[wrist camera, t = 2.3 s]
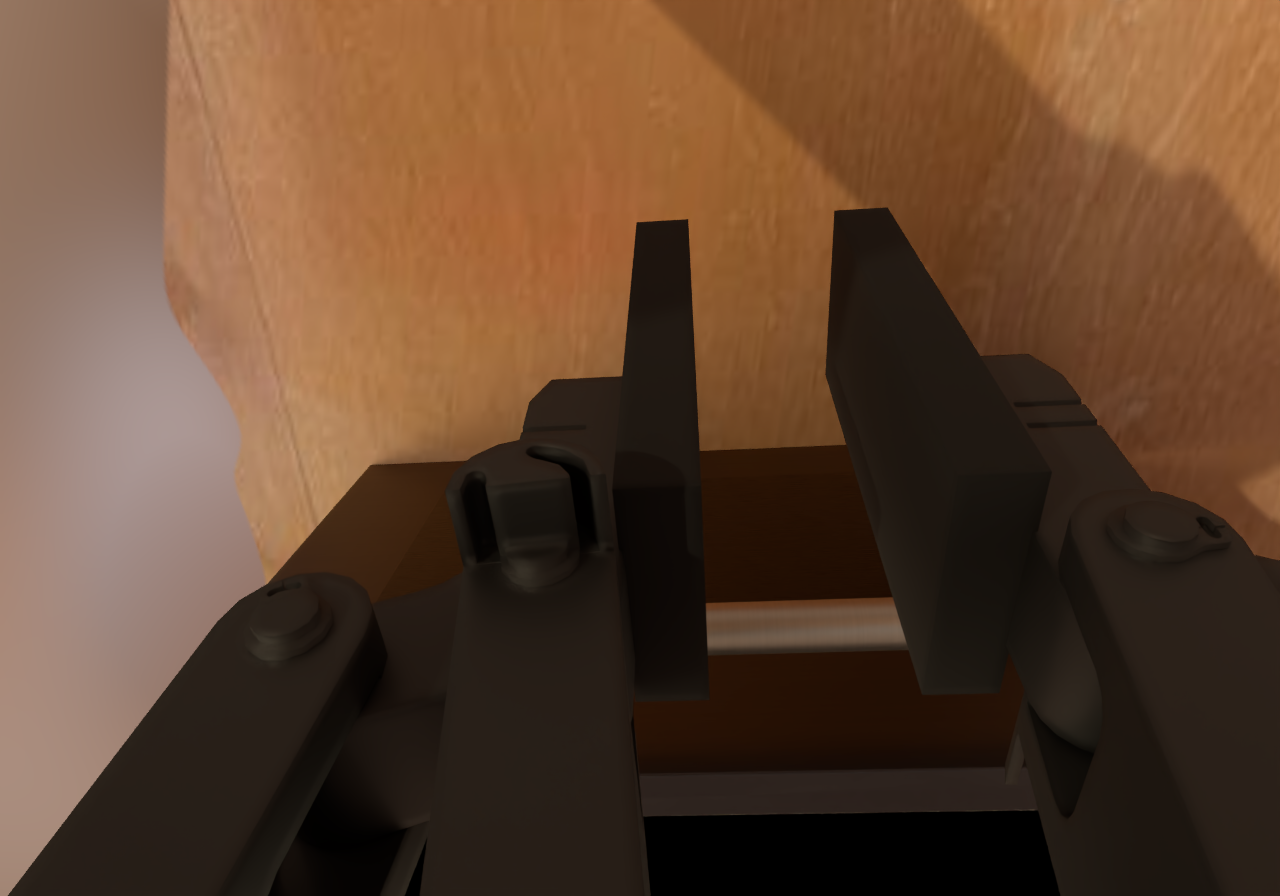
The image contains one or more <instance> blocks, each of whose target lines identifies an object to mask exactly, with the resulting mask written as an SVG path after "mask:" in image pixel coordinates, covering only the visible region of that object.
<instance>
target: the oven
mask: <svg viewBox="0 0 1280 896" xmlns="http://www.w3.org/2000/svg"><path fill="white" fill-rule="evenodd" d="M643 819H644V830H645V841H646V852H647V863H648V873H649V884H650V895H651V896H1060V892H1059V888H1058V884H1057V880H1056V877H1055V873H1054V869H1053V865H1052V861H1051V857H1050V854H1049V850H1048V846H1047V842H1046V838H1045V835H1044V831H1043V827H1042V823H1041V819H1040V816H1039V812H1038V810H1019V811H955V812H890V813H826V814H761V815H697V816H643ZM426 844H427V839H426V842H425V844H424V847H423V849H422V852H421V854H420V857H419V860H418V862H417V865H416V867H415V870H414V873H413V875H412V878H411V880H410V883H409V886H408V888H407V891H406V893H405V896H420V889H421V881H422V874H423V866H424V859H425V851H426Z"/></svg>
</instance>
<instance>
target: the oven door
mask: <svg viewBox="0 0 1280 896" xmlns="http://www.w3.org/2000/svg"><path fill="white" fill-rule="evenodd" d="M466 462H467V461H458V462H434V463H411V464H387V465H370V466H369V467H368V469H367V470H366V471H365V472H364V473H363V474H362V476H361V477H360V478H359V479H358V480H357V481H356V482H355V484H354V485H353V486H352V487H351V488H350V489H349V491H348V492H347V493H346V494H345V495H344V496H343V497H342V499H341V500H340V501H339V502H338V503H337V504H336V506H335V507H334V508H333V509H332V510H331V511H330V512H329V514H328V515H327V516H326V517H325V518H324V519H323V521H322V522H321V523H320V524H319V525H318V526H317V527H316V529H315V530H314V531H313V532H312V533H311V534H310V536H309V537H308V538H307V539H306V540H305V541H304V542H303V544H302V545H301V546H300V547H299V548H298V549H297V551H296V552H295V553H294V554H293V555H292V556H291V557H290V559H289V560H288V561H287V562H286V563H285V564H284V566H283V567H282V568H281V569H280V570H279V571H278V572H277V574H276V575H275V576H274V577H273V578H272V579H271V581H270V582H269V583H272V582H275V581H278V580H281V579H284V578H288V577H291V576H294V575H297V574H307V573H320V572H329V573H334V574H338V575H342V576H347V577H351V578H352V579H354V580H355V581H356V582H357V583H359V584H360V585H361V586H362V587H364V588H365V589H366V590H367V592H368V595H369V597H370V600H371V603H376V602H380V601H384V600H387V599H391V598H395V597H399V596H402V595H406V594H410V593H414V592H417V591H421V590H424V589H427V588H429V587H432V586H435V585H438V584H441V583H443V582H445V581H447V580H449V579H451V578H453V577H454V576H456V575H458V574H460V573H462V572H463V563H462V559H461V555H460V551H459V547H458V543H457V538H456V534H455V530H454V526H453V522H452V518H451V514H450V510H449V506H448V502H447V498H446V494H445V489H446V487H447V485H448V483H449V481H450V479H451V477H452V475H453V473H454V472H455V471H456V470H457V469H458V468H460V467H461V466H462V465H463V464H464V463H466ZM700 471H701V493H702V518H703V544H704V570H705V595H706V621H707V646H708V672H709V697H710V700H691V701H650V702H636V701H635V692H634V699H633V717H634V726H635V734H636V743H637V754H638V765H639V776H640V786H641V797H642V808H643V816H697V815H761V814H826V813H890V812H955V811H1019V810H1038V808H1037V804H1036V800H1035V796H1034V793H1033V789H1032V785H1031V781H1030V777H1029V774H1028V770H1027V766H1026V762H1025V758H1024V762H1023V765H1022V769H1021V772H1020V776H1019V779H1018V783H1017V785H1010V784H1005V762H1006V759H1007V755H1008V751H1009V747H1010V743H1011V740H1012V736H1013V732H1014V728H1015V724H1016V720H1017V717H1018V713H1019V709H1020V705H1021V701H1022V698H1023V694H1024V690H1025V689H1024V687H1023V685H1022V682H1021V680H1020V678H1019V675H1018V673H1017V671H1016V668H1015V666H1014V664H1013V661H1012V659H1011V657H1010V654H1008V659H1007V663H1006V667H1005V671H1004V675H1003V680H1002V684H1001V688H1000V692H999V693H984V694H942V695H922V693H921V690H920V686H919V683H918V680H917V676H916V673H915V670H914V666H913V663H912V660H911V656H910V653H909V650H908V646H907V643H906V640H905V637H904V633H903V630H902V627H901V623H900V620H899V617H898V613H897V610H896V607H895V603H894V600H893V597H892V593H891V590H890V587H889V583H888V580H887V577H886V574H885V570H884V567H883V564H882V560H881V557H880V554H879V550H878V547H877V544H876V540H875V537H874V534H873V530H872V527H871V524H870V520H869V517H868V514H867V510H866V507H865V504H864V501H863V497H862V494H861V491H860V487H859V484H858V481H857V477H856V474H855V471H854V467H853V464H852V461H851V457H850V454H849V451H848V447H847V445H838V446H814V447H790V448H767V449H743V450H719V451H700ZM269 583H268V584H269Z"/></svg>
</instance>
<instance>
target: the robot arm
mask: <svg viewBox="0 0 1280 896" xmlns="http://www.w3.org/2000/svg"><path fill="white" fill-rule="evenodd" d="M826 378H827V381H828V384H829V388H830V391H831V394H832V398H833V401H834V404H835V408H836V411H837V414H838V418H839V421H840V424H841V428H842V431H843V434H844V437H845V441H846V444H847V447H848V451H849V454H850V457H851V461H852V464H853V467H854V471H855V474H856V477H857V481H858V484H859V487H860V491H861V494H862V497H863V501H864V504H865V507H866V510H867V514H868V517H869V520H870V524H871V527H872V530H873V534H874V537H875V540H876V544H877V547H878V550H879V554H880V557H881V560H882V564H883V567H884V570H885V574H886V577H887V580H888V583H889V587H890V590H891V593H892V597H893V600H894V603H895V607H896V610H897V613H898V617H899V620H900V623H901V627H902V630H903V633H904V637H905V640H906V643H907V646H908V650H909V653H910V656H911V660H912V663H913V666H914V670H915V673H916V676H917V680H918V683H919V686H920V690H921V693H922V695H942V694H984V693H999V692H1000V688H1001V684H1002V680H1003V675H1004V671H1005V667H1006V663H1007V659H1008V654H1010V657H1011V659H1012V661H1013V664H1014V666H1015V668H1016V671H1017V673H1018V675H1019V678H1020V680H1021V682H1022V685H1023V687H1024V689H1025V690H1024V694H1023V698H1022V701H1021V705H1020V709H1019V713H1018V717H1017V720H1016V724H1015V728H1014V732H1013V736H1012V740H1011V743H1010V747H1009V751H1008V755H1007V759H1006V762H1005V784H1010V785H1017V783H1018V779H1019V776H1020V772H1021V769H1022V765H1023V762H1024V758H1025V762H1026V766H1027V770H1028V774H1029V777H1030V781H1031V785H1032V789H1033V793H1034V796H1035V800H1036V804H1037V808H1038V812H1039V816H1040V819H1041V823H1042V827H1043V831H1044V835H1045V838H1046V842H1047V846H1048V850H1049V854H1050V857H1051V861H1052V865H1053V869H1054V873H1055V877H1056V880H1057V884H1058V888H1059V892H1060V896H1280V560H1274V559H1270V558H1265V557H1261V556H1257V555H1254V554H1253V553H1252V551H1251V550H1250V548H1249V547H1248V545H1247V544H1246V542H1245V541H1244V539H1243V538H1242V537H1241V536H1240V535H1239V534H1238V533H1237V532H1236V531H1235V530H1234V529H1233V528H1232V527H1231V526H1230V525H1229V524H1228V523H1227V522H1226V521H1225V520H1224V519H1222V518H1221V517H1219V516H1217V515H1215V514H1214V513H1212V512H1210V511H1208V510H1207V509H1205V508H1203V507H1201V506H1200V505H1198V504H1196V503H1193V502H1190V501H1187V500H1184V499H1181V498H1178V497H1175V496H1172V495H1169V494H1166V493H1162V492H1154V491H1151V490H1150V489H1149V488H1148V486H1147V485H1146V484H1145V483H1144V481H1143V480H1142V479H1141V477H1140V476H1139V475H1138V473H1137V472H1136V471H1135V469H1134V468H1133V467H1132V465H1131V464H1130V463H1129V461H1128V460H1127V459H1126V458H1125V456H1124V455H1123V454H1122V452H1121V451H1120V450H1119V448H1118V447H1117V446H1116V444H1115V443H1114V442H1113V440H1112V439H1111V438H1110V437H1109V435H1108V434H1107V433H1106V431H1105V430H1104V429H1103V427H1102V426H1101V425H1100V426H1097V419H1096V418H1095V417H1094V416H1093V414H1092V413H1091V412H1090V410H1089V409H1088V408H1087V406H1086V405H1085V404H1082V405H1081V398H1080V397H1079V396H1078V395H1077V393H1076V392H1075V391H1074V389H1073V388H1072V387H1071V385H1070V384H1069V383H1068V381H1067V380H1066V379H1065V377H1064V376H1063V375H1062V374H1061V373H1059V372H1057V371H1056V370H1054V369H1052V368H1051V367H1049V366H1047V365H1046V364H1044V363H1042V362H1041V361H1039V360H1037V359H1036V358H1034V357H1032V356H1031V355H1029V354H1017V355H996V356H980V355H979V354H978V352H977V350H976V349H975V347H974V346H973V344H972V342H971V341H970V339H969V338H968V336H967V334H966V333H965V331H964V330H963V328H962V326H961V325H960V323H959V322H958V320H957V318H956V317H955V315H954V314H953V312H952V310H951V309H950V307H949V305H948V304H947V302H946V301H945V299H944V297H943V296H942V294H941V293H940V291H939V289H938V288H937V286H936V285H935V283H934V281H933V280H932V278H931V277H930V275H929V273H928V272H927V270H926V269H925V267H924V265H923V264H922V262H921V261H920V259H919V257H918V256H917V254H916V253H915V251H914V249H913V248H912V246H911V245H910V243H909V241H908V240H907V238H906V237H905V235H904V233H903V232H902V230H901V229H900V227H899V225H898V224H897V222H896V221H895V219H894V217H893V216H892V214H891V213H890V211H889V209H888V208H872V209H856V210H839V211H835V212H834V230H833V248H832V266H831V285H830V303H829V321H828V339H827V357H826ZM445 494H446V498H447V502H448V506H449V510H450V514H451V518H452V522H453V526H454V530H455V534H456V538H457V543H458V547H459V551H460V555H461V559H462V563H463V572H462V573H460V574H458V575H456V576H454V577H453V578H451V579H449V580H447V581H445V582H443V583H441V584H438V585H435V586H432V587H429V588H427V589H424V590H421V591H417V592H414V593H410V594H406V595H402V596H399V597H395V598H391V599H387V600H384V601H380V602H376V603H371V600H370V597H369V595H368V592H367V590H366V589H365V588H364V587H362V586H361V585H360V584H359V583H357V582H356V581H355V580H354V579H352V578H351V577H347V576H342V575H338V574H334V573H329V572H320V573H307V574H297V575H294V576H291V577H288V578H284V579H281V580H278V581H275V582H272V583H269V584H267V585H265V586H263V587H261V588H260V589H258V590H256V591H255V592H253V593H251V594H249V595H248V596H246V597H244V598H243V599H241V600H239V601H238V602H237V603H236V604H235V605H234V606H233V607H232V608H231V609H230V610H229V611H228V612H227V613H226V614H225V615H224V616H223V617H222V618H221V619H220V620H219V621H218V622H217V623H216V624H215V626H214V627H213V628H212V629H211V631H210V632H209V633H208V635H207V636H206V638H205V639H204V640H203V641H202V643H201V644H200V645H199V647H198V648H197V649H196V650H195V652H194V653H193V654H192V656H191V657H190V658H189V660H188V661H187V662H186V664H185V665H184V666H183V668H182V669H181V670H180V671H179V673H178V674H177V675H176V676H175V678H174V679H173V680H172V682H171V683H170V684H169V686H168V687H167V688H166V690H165V691H164V692H163V693H162V695H161V696H160V697H159V699H158V700H157V701H156V703H155V704H154V705H153V707H152V708H151V709H150V710H149V712H148V713H147V715H146V716H145V717H144V718H143V720H142V721H141V722H140V724H139V725H138V726H137V727H136V729H135V730H134V732H133V733H132V734H131V736H130V737H129V738H128V739H127V741H126V742H125V743H124V745H123V746H122V747H121V748H120V750H119V751H118V752H117V754H116V755H115V756H114V758H113V759H112V760H111V761H110V763H109V764H108V765H107V767H106V768H105V769H104V771H103V772H102V773H101V775H100V776H99V777H98V778H97V780H96V781H95V782H94V784H93V785H92V786H91V788H90V789H89V790H88V792H87V793H86V794H85V795H84V797H83V798H82V799H81V801H80V802H79V803H78V805H77V806H76V807H75V808H74V810H73V811H72V812H71V814H70V815H69V816H68V818H67V819H66V820H65V822H64V823H63V824H62V826H61V827H60V828H59V829H58V831H57V832H56V833H55V835H54V836H53V837H52V839H51V840H50V841H49V843H48V844H47V845H46V846H45V848H44V849H43V850H42V852H41V853H40V854H39V856H38V857H37V858H36V859H35V861H34V862H33V863H32V865H31V866H30V867H29V869H28V870H27V871H26V873H25V874H24V875H23V877H22V878H21V879H20V880H19V882H18V883H17V884H16V886H15V887H14V888H13V890H12V891H11V892H10V893H9V895H8V896H405V893H406V891H407V888H408V886H409V883H410V880H411V878H412V875H413V873H414V870H415V867H416V865H417V862H418V860H419V857H420V854H421V852H422V849H423V847H424V844H425V842H426V839H427V844H426V851H425V859H424V866H423V874H422V881H421V889H420V896H651V895H650V884H649V873H648V863H647V852H646V841H645V830H644V819H643V808H642V797H641V786H640V776H639V765H638V754H637V743H636V734H635V726H634V717H633V699H634V692H635V701H636V702H650V701H691V700H710V697H709V672H708V646H707V621H706V595H705V570H704V544H703V518H702V493H701V471H700V451H699V431H698V410H697V390H696V370H695V349H694V329H693V309H692V288H691V268H690V248H689V228H688V219H686V220H670V221H653V222H637V225H636V236H635V247H634V258H633V268H632V279H631V290H630V301H629V312H628V322H627V333H626V344H625V355H624V366H623V376H621V377H600V378H579V379H558V380H551V381H550V382H549V383H548V384H547V385H546V386H545V387H544V388H543V389H542V390H541V391H540V392H539V393H538V394H537V395H536V396H535V397H534V398H533V399H532V400H531V401H530V402H529V406H528V410H527V413H526V417H525V421H524V425H523V432H522V433H521V437H520V440H518V441H513V442H508V443H504V444H499V445H497V446H494V447H492V448H490V449H488V450H486V451H483V452H481V453H479V454H477V455H475V456H473V457H471V458H470V459H469V460H468V461H467V462H466V463H464V464H463V465H462V466H461V467H460V468H458V469H457V470H456V471H455V472H454V473H453V475H452V477H451V479H450V481H449V483H448V485H447V487H446V489H445Z"/></svg>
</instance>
